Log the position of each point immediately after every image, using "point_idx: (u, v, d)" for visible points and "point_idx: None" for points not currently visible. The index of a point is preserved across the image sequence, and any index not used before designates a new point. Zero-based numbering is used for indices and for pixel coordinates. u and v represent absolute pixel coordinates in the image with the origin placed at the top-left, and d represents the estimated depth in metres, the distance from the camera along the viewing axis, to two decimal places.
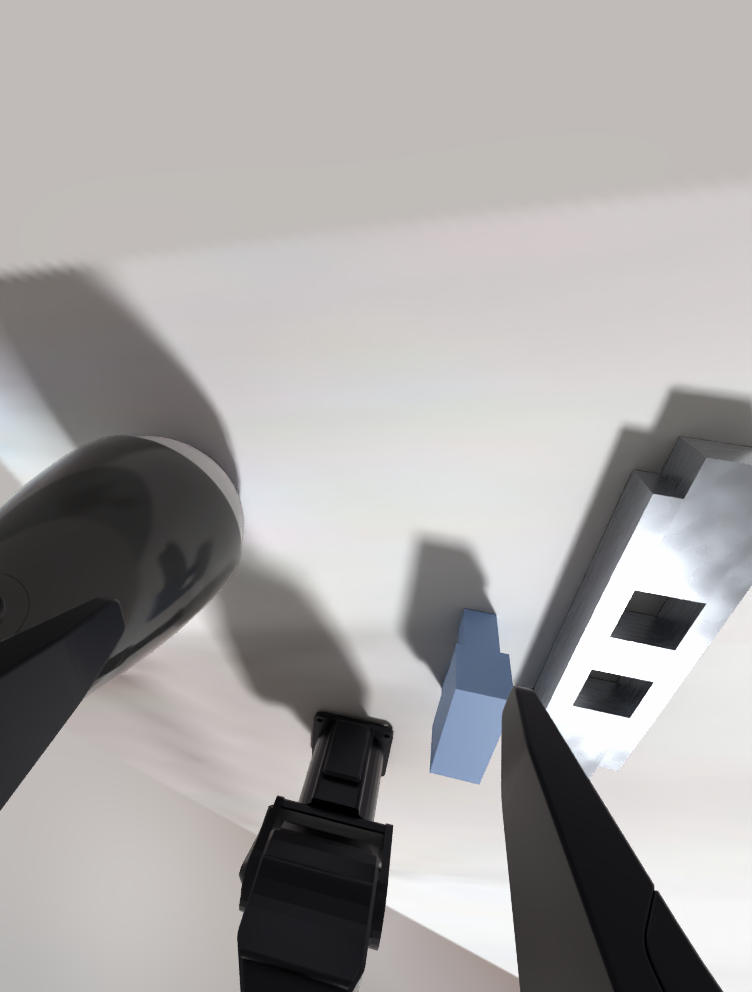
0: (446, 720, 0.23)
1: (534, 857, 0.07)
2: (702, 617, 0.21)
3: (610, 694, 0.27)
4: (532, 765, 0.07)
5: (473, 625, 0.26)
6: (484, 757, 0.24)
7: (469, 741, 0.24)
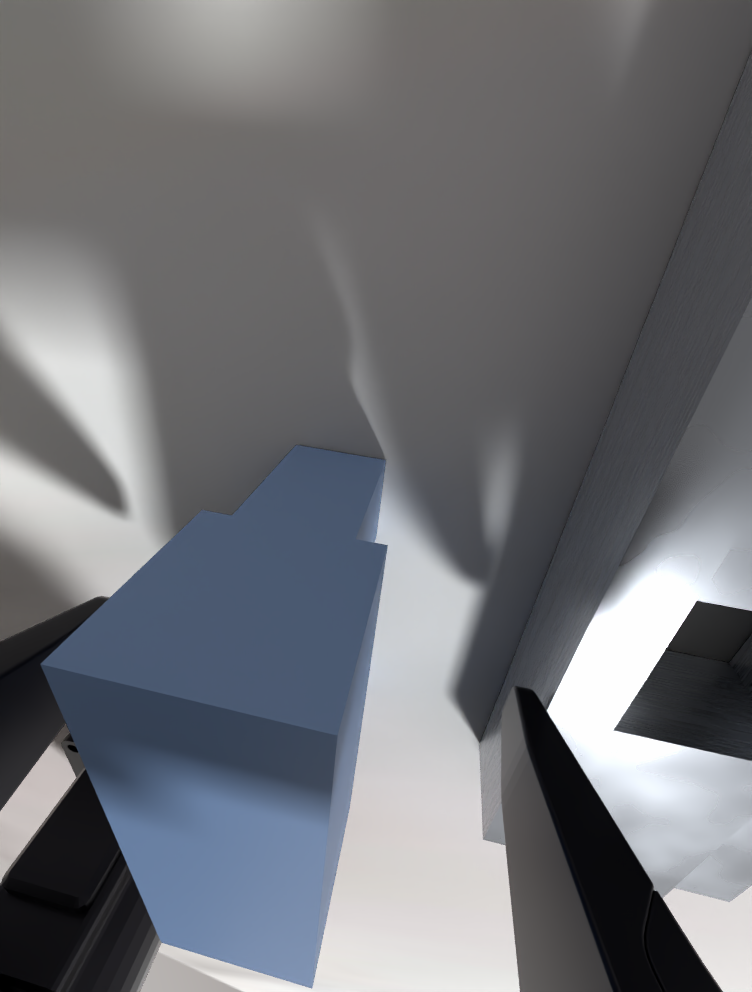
0: (105, 803, 0.06)
1: (534, 857, 0.07)
2: None
3: (721, 694, 0.09)
4: (532, 765, 0.07)
5: (299, 475, 0.08)
6: (296, 930, 0.06)
7: (225, 880, 0.06)
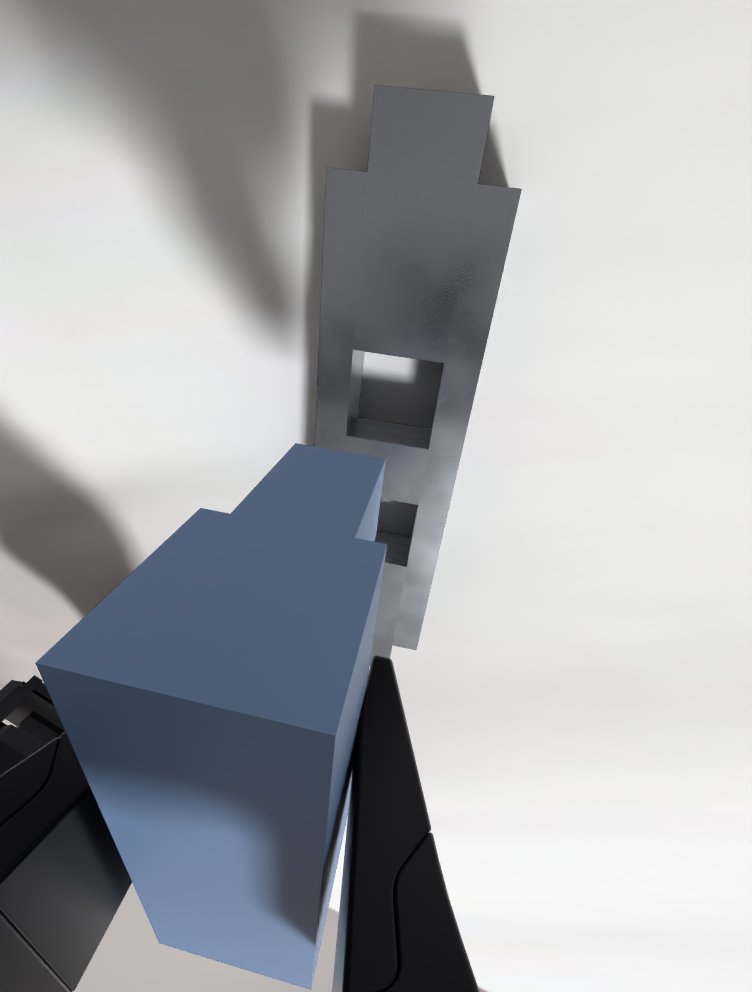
0: (102, 803, 0.05)
1: (351, 810, 0.07)
2: (445, 388, 0.16)
3: (395, 546, 0.21)
4: (359, 724, 0.07)
5: (298, 473, 0.08)
6: (295, 931, 0.06)
7: (223, 881, 0.06)
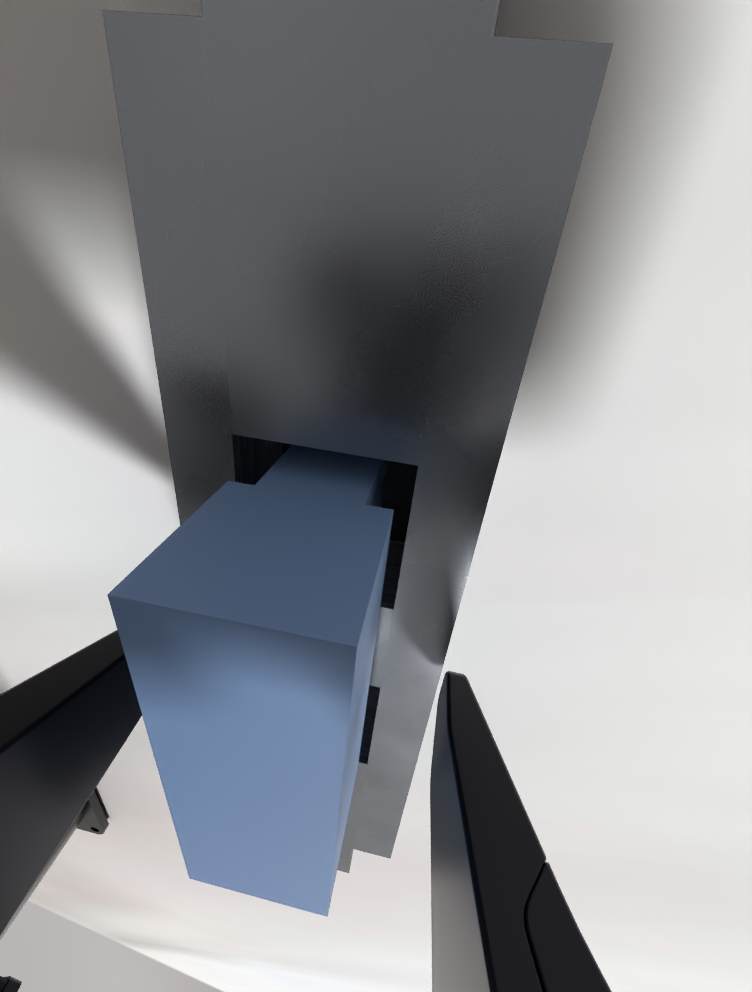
0: (150, 731, 0.06)
1: (446, 834, 0.07)
2: (422, 511, 0.08)
3: None
4: (449, 745, 0.07)
5: (312, 453, 0.09)
6: (315, 851, 0.07)
7: (253, 803, 0.07)
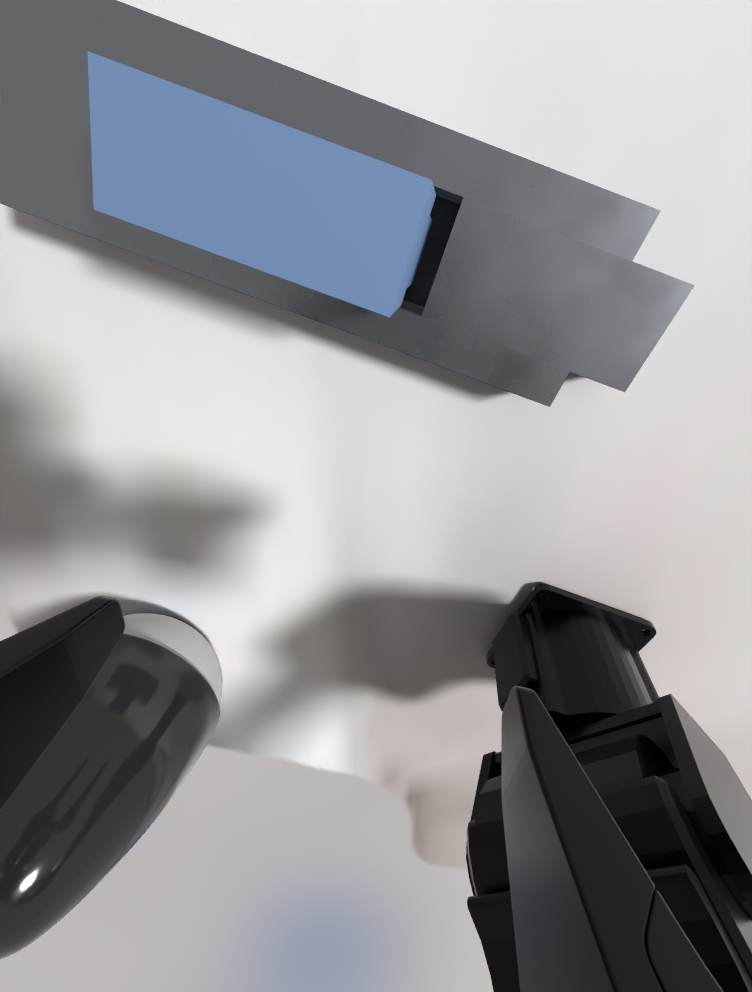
0: (197, 245, 0.11)
1: (534, 857, 0.07)
2: (184, 80, 0.12)
3: None
4: (532, 765, 0.07)
5: None
6: (310, 153, 0.10)
7: (255, 191, 0.10)
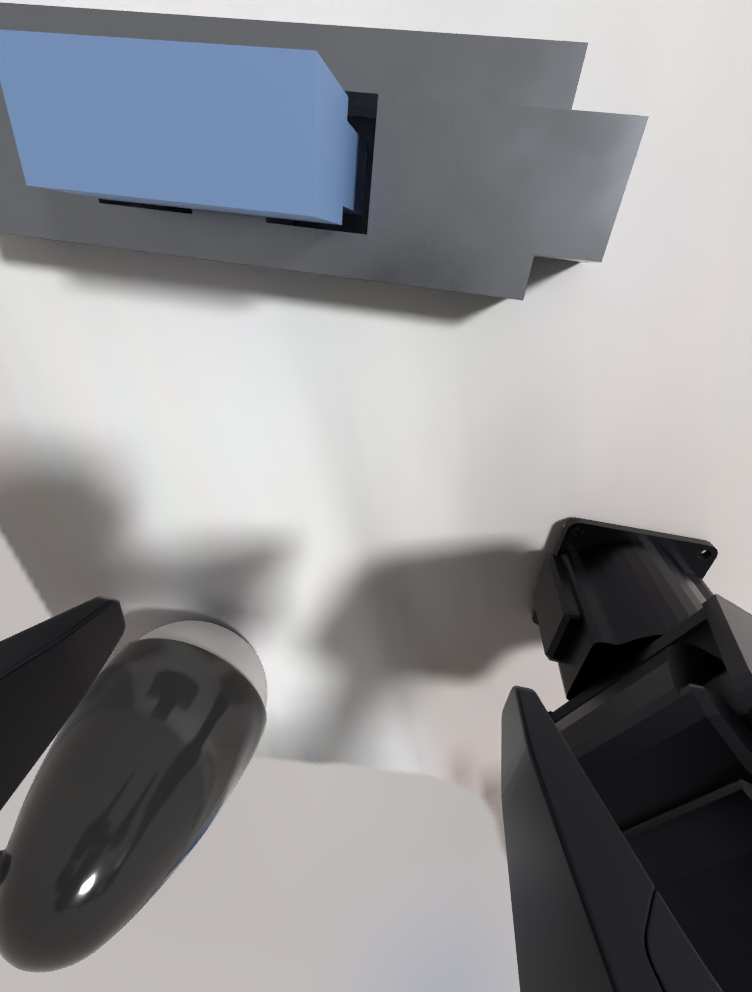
0: (120, 193, 0.11)
1: (534, 857, 0.07)
2: None
3: None
4: (532, 765, 0.07)
5: None
6: (196, 62, 0.10)
7: (157, 119, 0.10)
